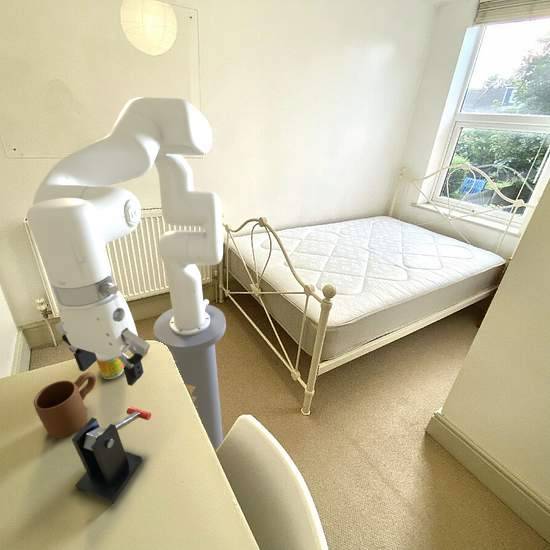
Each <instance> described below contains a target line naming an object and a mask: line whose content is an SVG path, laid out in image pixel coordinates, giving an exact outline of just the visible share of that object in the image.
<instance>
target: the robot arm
mask: <svg viewBox="0 0 550 550" xmlns="http://www.w3.org/2000/svg"><path fill="white" fill-rule="evenodd" d="M212 143H213V134H212V128H211V126H210V123H209V121H208V120H207V118H206V117H205V116H204V115H203V113H201V111H200V110H199V109H198V108H197V107H196V106H195V105H194V104H192V103H191V102H189V101H187V100H185V99H183V98H176V97H151V96H150V97H149V96H147V97H146V96H143V97H142V96H141V97H136V98H133V99H130V100H129V101H128V102H127V103H126V104H125V105H124V107H123V109H122V110H121V112H120V113H119V115H118V117H117V118H116V119H115V122H113V124H112V126H111V127H110V128H109V131H108V132H107V134H106V136H105V137H103V138H101V139H98V140H96V141H94V142H91V143H89V144H87V145H86V146H84V147H82V148H80V149H78V150H76V151H73V152H71V153H69V154H68V155H66V156H65V157H63V158H62V159H60V160H59V161H57V162H56V163H55V164H54V165H53V166H52V167H51V169H50V170H49V171H48V172H47V174H46V175H45V177H44V178H43V179H42V181H40V184H39V185H38V187H37V189H36V191H35V193H34V197H33V202H32V205H31V206H30V207H29V208H28V210H27V212H26V220H27V224H28V226H29V229H30V232H31V234H32V238H33V240H34V243H35V245H36V248H37V251H38V253H39V255H40V258H41V261H42V264H43V267H44V269H45V272H46V274H47V277H48V280H49V282H50V285H51V288H52V291H53V294H54V296H55V299H56V304H57V305H56V306H57V310H58V314H59V318H60V321H59V322H57V323H56V324H55V325H54V328H55V330H56V331H57V332H58V333H59V335H60V336H61V339H62V341H64V342H65V343H66V344H67V345H68V346H69V347H68V350H69V351H70V352H71V353H72V354H73V356H74V360H75V362H76V365H77V368H78V369H79V371H80V372H85V371H87V370H88V369H89V368H90V367H92V365H94V363H97V357H96V354H95V353H97V354H101V355H104V356H108V357H118V358H119V360H120V361H121V362H122V363H123V365H124V371H123V373H124V376H125V379H126V383H127V385H128V386H130V387H132V386H134V384H135V383H137V381H138V380H139V379H140V378H141V377H142V376H143V374H144V368H143V364H142V360H143V359H144V358H145V357H146V355H147V354H148V351H149V350H150V347H151V344H150V343H149V342H148V341H146V340H145V339H143V338H142V337H140V336H139V335H138V331H137V327H136V324H135V321H134V318H133V315H132V313H131V310H130V307H129V306H128V303H127V301H126V299H125V297H124V296H123V294H122V292H121V291H119V287H118V285H116V283H115V279H114V275H113V272H112V267H111V263H110V260H109V255H108V253H107V248H106V245H107V244H108V243H111V242H113V241H116V240H119V239H121V238H124V237H126V236H128V235H131V233H133V232H134V231H135V230H136V229H137V227H138V225H139V223H140V220H141V217H142V209H141V204H140V201H139V199H138V198H137V197H136V195H135V194H133V193H132V192H131V191H129V190H128V189H125V188H122V187H118V186H112V185H115V184H120V183H124V182H128V181H131V180H134V179H137V178H140V177H142V176H144V175H146V174H147V173H148V172H149V171H150V170H151V169H152V167H153V165H155V167H156V170H157V174H158V182H159V194H160V205H161V213H162V218H163V220H164V221H165V223H166V224H168V225H171V226H176V227H177V226H178V227H195V228H196V227H197V228H198V227H199V228H203V231H202V230H181V229H180V230H179V229H177V230H175V229H174V230H168V231H166V232H164V233H163V234H161V236H160V237H159V240H158V244H157V245H158V252H159V256H160V258H161V260H162V263H163V265H164V268H165V273H166V278H167V284H168V290H169V291H168V292H169V297H170V303H171V309H173V315H174V316H173V317H172V319H171V320H170V328H171V330H172V331H173V332H174V333H176V334H179V335H194V334H197V333H200V332H202V331H203V330H205V329H206V328H207V327H208V326H209V324H210V317H209V315H208V314H207V313H206V312H205V308H206V306H207V305H210V301H209V299H207V298H205V299H204V297H203V286H202V285H203V284H202V276H201V272H200V270H199V268H198V266H217V265H219V264H220V262H221V261H222V260H223V255H224V234H223V233H224V231H223V230H224V229H223V228H224V227H223V207H222V202H221V199H220V197H219V196H218V194H217V193H216V192H213V191H208V190H195V187H194V177H193V176H194V175H193V170H192V168H191V166H190V164H189V163H188V162H187V160H186V159H185V157H183V156H204V155H206V154H208V153H209V151H210V150H211V148H212ZM127 351H129V352H130V353H131V354H132V355H131V357H130V358H129V357H128V355H127V354H125V353H126V352H127Z"/></svg>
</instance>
